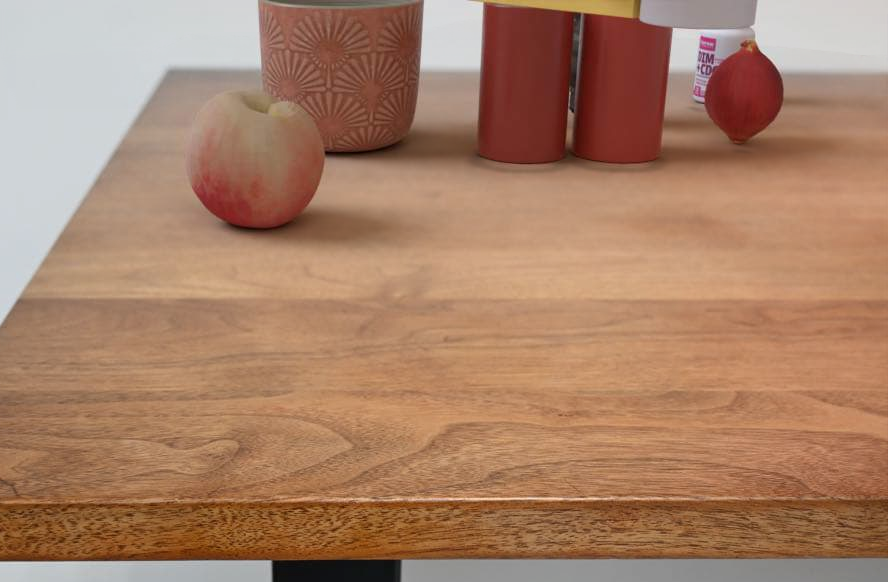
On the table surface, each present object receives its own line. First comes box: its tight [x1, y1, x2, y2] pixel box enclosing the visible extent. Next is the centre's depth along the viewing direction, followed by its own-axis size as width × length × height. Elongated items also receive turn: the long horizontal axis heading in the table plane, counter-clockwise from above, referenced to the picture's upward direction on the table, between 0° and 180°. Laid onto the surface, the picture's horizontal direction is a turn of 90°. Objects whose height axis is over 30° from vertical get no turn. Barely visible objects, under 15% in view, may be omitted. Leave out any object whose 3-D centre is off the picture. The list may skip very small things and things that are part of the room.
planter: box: [257, 0, 425, 153], centre depth 95 cm, size 12×12×11 cm
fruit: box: [184, 87, 326, 229], centre depth 75 cm, size 8×8×8 cm
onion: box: [704, 39, 785, 145], centre depth 96 cm, size 6×6×8 cm
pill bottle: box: [692, 26, 756, 104], centre depth 112 cm, size 5×5×8 cm
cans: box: [476, 2, 674, 164], centre depth 92 cm, size 14×7×11 cm, turn 92°
